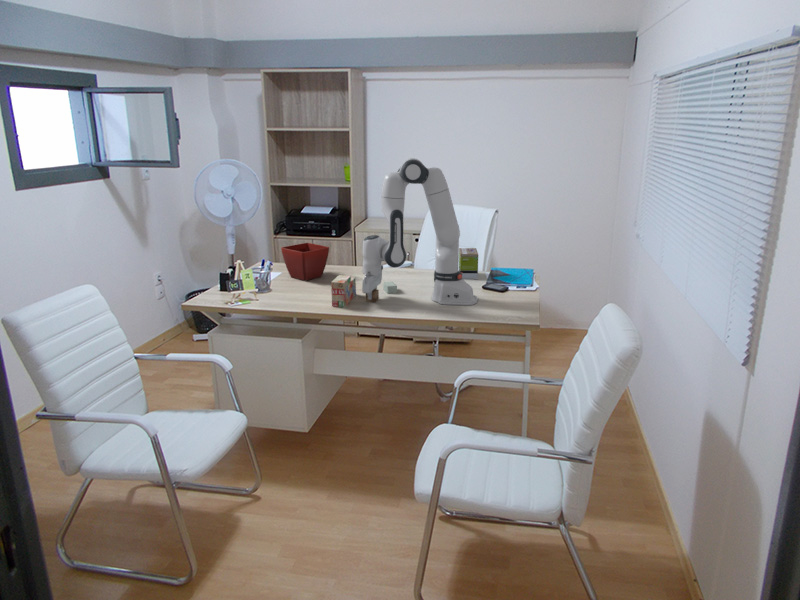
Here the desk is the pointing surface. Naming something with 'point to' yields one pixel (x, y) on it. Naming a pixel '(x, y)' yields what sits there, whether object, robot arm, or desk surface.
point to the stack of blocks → (343, 290)
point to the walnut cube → (373, 296)
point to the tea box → (468, 263)
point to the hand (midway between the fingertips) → (372, 297)
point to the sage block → (389, 287)
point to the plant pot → (305, 260)
